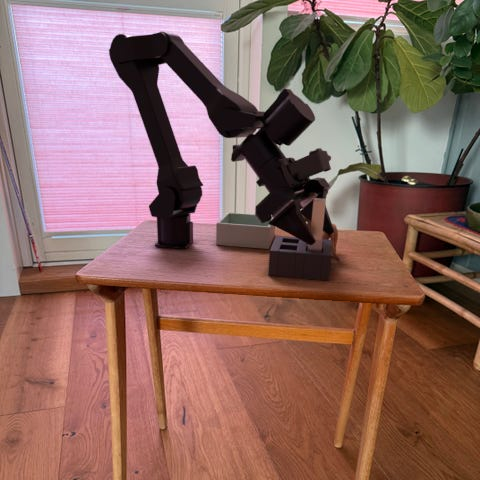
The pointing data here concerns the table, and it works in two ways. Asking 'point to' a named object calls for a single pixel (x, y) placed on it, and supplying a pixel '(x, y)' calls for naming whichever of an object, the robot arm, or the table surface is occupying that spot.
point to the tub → (244, 231)
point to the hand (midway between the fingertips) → (323, 238)
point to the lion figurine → (325, 236)
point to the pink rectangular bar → (317, 224)
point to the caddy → (299, 259)
